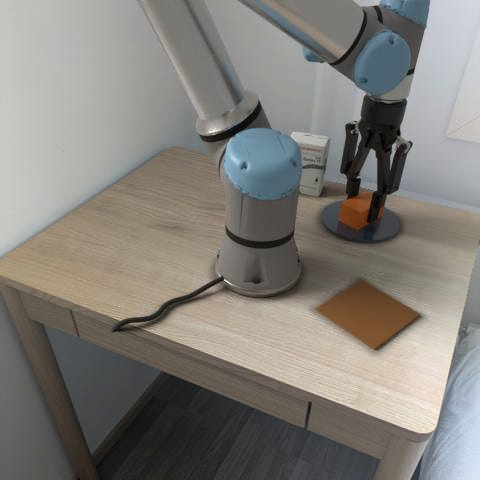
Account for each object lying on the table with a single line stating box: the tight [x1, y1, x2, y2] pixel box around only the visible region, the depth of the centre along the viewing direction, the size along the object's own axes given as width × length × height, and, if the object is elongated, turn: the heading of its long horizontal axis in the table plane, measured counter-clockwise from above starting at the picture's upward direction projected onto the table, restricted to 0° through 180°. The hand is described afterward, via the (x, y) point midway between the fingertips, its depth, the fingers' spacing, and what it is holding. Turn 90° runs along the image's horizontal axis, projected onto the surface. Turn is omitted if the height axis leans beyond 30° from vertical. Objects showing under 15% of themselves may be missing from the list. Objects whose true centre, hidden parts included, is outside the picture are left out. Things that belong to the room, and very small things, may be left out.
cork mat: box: [315, 279, 421, 351], centre depth 80 cm, size 12×12×1 cm
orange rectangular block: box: [339, 190, 385, 230], centre depth 100 cm, size 8×5×4 cm, turn 131°
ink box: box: [289, 131, 332, 197], centre depth 108 cm, size 9×5×12 cm, turn 71°
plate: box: [320, 199, 401, 244], centre depth 102 cm, size 16×16×1 cm
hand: (361, 214), depth 101 cm, fingers closed on orange rectangular block, 5 cm apart
